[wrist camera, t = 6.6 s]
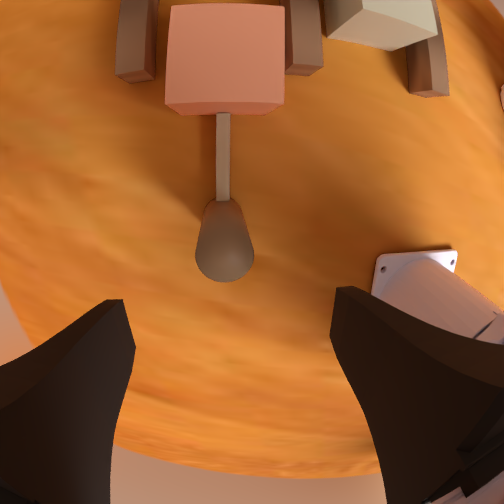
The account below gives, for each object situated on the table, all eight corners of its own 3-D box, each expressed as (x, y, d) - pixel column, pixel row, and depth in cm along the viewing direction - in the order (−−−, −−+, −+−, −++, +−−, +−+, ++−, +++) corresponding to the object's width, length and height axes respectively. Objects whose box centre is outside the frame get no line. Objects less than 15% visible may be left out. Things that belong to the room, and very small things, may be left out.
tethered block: (261, 233, 17) (282, 280, 12) (184, 235, 17) (168, 283, 11) (265, 42, 13) (289, -4, 7) (184, 42, 12) (167, -5, 7)
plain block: (390, 51, 13) (437, 34, 9) (326, 38, 13) (363, 8, 8) (383, -2, 12) (423, -28, 7) (321, -18, 11) (351, -55, 7)
